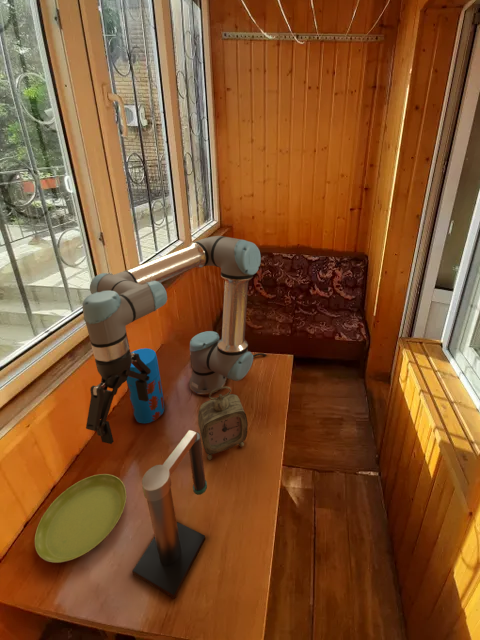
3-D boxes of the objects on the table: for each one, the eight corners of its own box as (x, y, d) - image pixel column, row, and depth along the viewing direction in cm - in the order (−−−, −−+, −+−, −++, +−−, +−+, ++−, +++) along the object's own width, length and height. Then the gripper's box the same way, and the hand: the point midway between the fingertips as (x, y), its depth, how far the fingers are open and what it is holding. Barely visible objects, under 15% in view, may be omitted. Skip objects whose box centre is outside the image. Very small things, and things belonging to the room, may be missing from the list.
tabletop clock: (205, 466, 98) (198, 405, 90) (200, 442, 106) (193, 384, 97) (248, 448, 104) (246, 389, 96) (240, 427, 112) (237, 371, 103)
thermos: (130, 410, 118) (118, 356, 110) (158, 396, 125) (149, 344, 116) (139, 429, 111) (128, 372, 102) (169, 413, 117) (160, 358, 109)
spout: (169, 559, 71) (156, 494, 64) (150, 549, 73) (135, 484, 66) (212, 485, 87) (206, 425, 80) (195, 478, 89) (188, 419, 81)
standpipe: (174, 599, 70) (160, 529, 61) (133, 574, 73) (114, 506, 65) (205, 539, 80) (197, 472, 72) (167, 520, 84) (155, 455, 76)
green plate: (78, 477, 95) (76, 470, 93) (142, 485, 92) (141, 478, 91) (15, 563, 75) (11, 555, 74) (94, 576, 73) (91, 568, 72)
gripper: (133, 323, 88) (145, 383, 95) (52, 387, 65) (75, 459, 72) (157, 327, 86) (166, 387, 93) (82, 393, 63) (103, 467, 70)
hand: (127, 419), depth 83 cm, fingers open, 13 cm apart
